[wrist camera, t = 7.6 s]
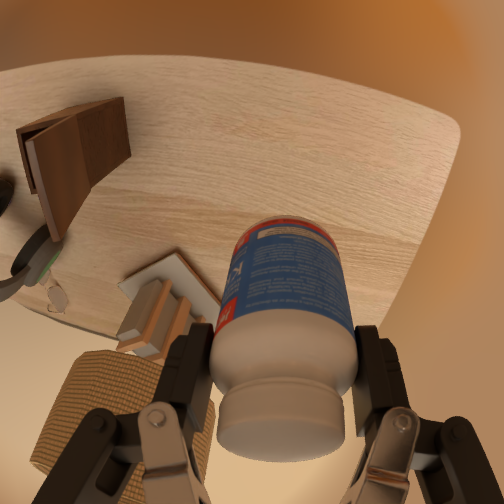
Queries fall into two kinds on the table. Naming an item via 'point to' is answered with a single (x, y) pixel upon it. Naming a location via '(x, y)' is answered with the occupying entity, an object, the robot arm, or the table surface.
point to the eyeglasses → (55, 295)
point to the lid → (59, 173)
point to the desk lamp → (133, 363)
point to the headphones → (28, 253)
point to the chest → (87, 137)
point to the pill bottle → (283, 344)
